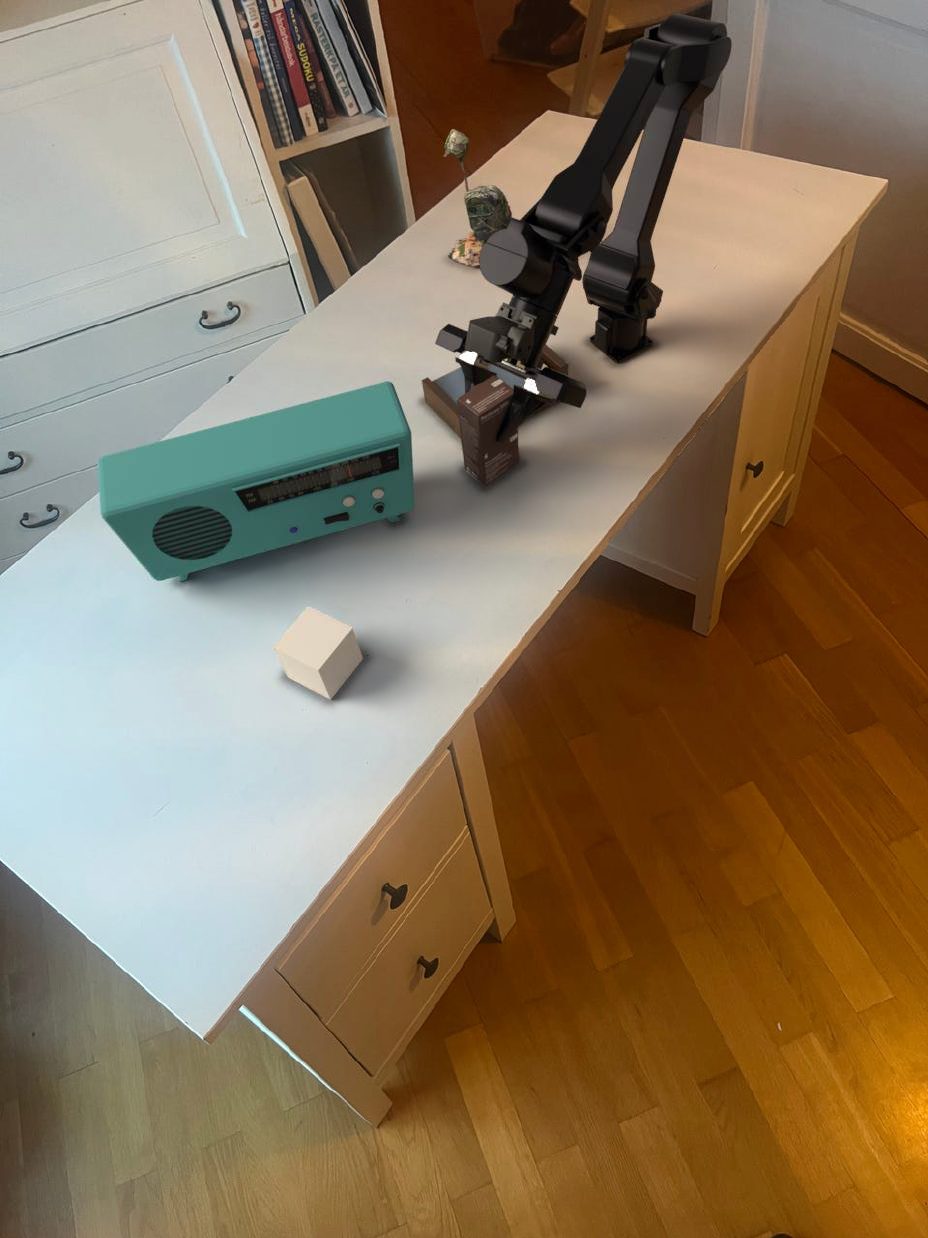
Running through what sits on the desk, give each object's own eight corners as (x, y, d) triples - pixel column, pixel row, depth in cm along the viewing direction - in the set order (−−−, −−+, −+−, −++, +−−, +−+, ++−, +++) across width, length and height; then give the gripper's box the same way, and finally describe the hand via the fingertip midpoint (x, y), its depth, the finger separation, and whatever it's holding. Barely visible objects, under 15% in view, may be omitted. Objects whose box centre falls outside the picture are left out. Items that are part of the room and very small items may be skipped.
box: (486, 489, 110) (477, 415, 100) (464, 470, 112) (452, 396, 102) (523, 464, 112) (517, 389, 102) (500, 446, 114) (492, 371, 104)
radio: (153, 606, 104) (98, 521, 92) (147, 542, 110) (95, 455, 98) (430, 528, 107) (413, 436, 95) (410, 470, 113) (391, 376, 101)
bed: (521, 353, 124) (520, 322, 120) (568, 394, 118) (568, 363, 114) (425, 402, 120) (420, 371, 116) (468, 447, 115) (465, 416, 110)
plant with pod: (500, 280, 135) (491, 148, 118) (441, 259, 139) (424, 129, 123) (529, 252, 138) (525, 120, 122) (471, 233, 143) (459, 103, 126)
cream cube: (330, 700, 94) (317, 670, 90) (287, 677, 97) (272, 647, 92) (363, 658, 97) (352, 627, 92) (320, 636, 99) (307, 605, 94)
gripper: (435, 261, 98) (385, 395, 103) (572, 318, 91) (512, 459, 95) (484, 287, 108) (437, 408, 113) (613, 340, 100) (556, 467, 105)
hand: (482, 434), depth 106 cm, fingers closed on box, 5 cm apart
